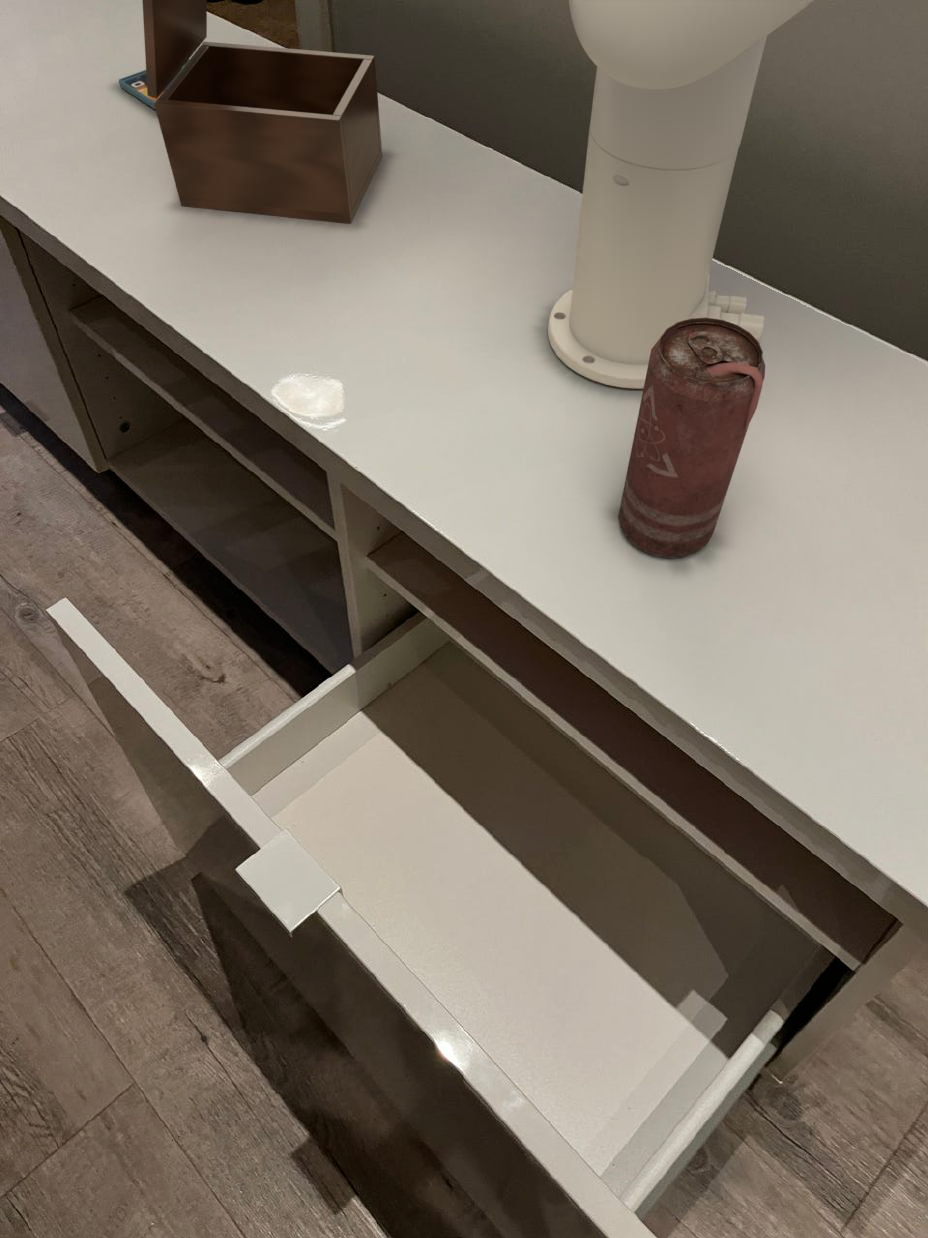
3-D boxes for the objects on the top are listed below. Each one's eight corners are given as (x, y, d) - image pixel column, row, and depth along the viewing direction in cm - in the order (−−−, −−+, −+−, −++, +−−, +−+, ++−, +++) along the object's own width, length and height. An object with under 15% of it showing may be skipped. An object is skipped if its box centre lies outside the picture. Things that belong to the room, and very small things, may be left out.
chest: (382, 156, 87) (374, 55, 80) (350, 223, 80) (339, 120, 73) (225, 140, 89) (203, 40, 82) (181, 205, 82) (153, 102, 75)
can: (692, 578, 57) (748, 403, 46) (601, 536, 59) (633, 359, 48) (730, 516, 60) (792, 337, 49) (642, 479, 62) (682, 298, 51)
